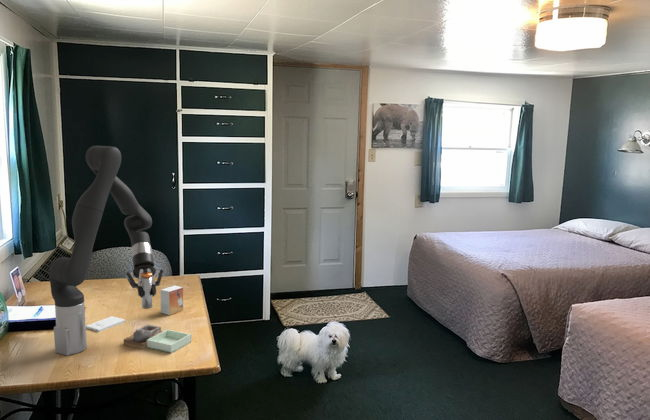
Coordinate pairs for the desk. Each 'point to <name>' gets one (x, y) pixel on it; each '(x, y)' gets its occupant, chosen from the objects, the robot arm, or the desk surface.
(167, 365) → the desk surface
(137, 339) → the tensioner bracket
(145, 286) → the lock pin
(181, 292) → the small box
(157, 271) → the robot arm
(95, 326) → the external hard drive
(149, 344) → the tray
